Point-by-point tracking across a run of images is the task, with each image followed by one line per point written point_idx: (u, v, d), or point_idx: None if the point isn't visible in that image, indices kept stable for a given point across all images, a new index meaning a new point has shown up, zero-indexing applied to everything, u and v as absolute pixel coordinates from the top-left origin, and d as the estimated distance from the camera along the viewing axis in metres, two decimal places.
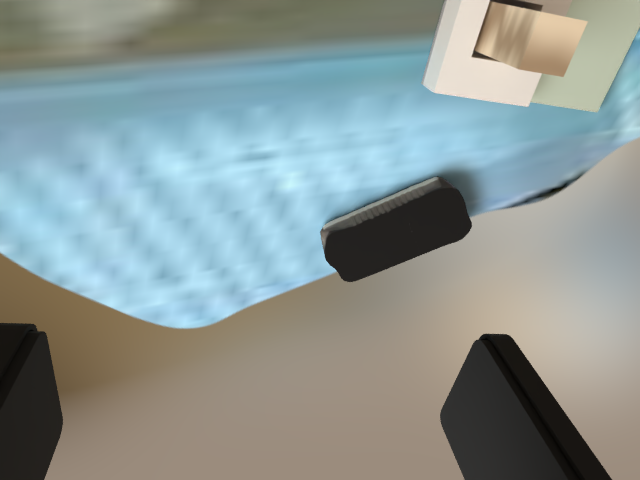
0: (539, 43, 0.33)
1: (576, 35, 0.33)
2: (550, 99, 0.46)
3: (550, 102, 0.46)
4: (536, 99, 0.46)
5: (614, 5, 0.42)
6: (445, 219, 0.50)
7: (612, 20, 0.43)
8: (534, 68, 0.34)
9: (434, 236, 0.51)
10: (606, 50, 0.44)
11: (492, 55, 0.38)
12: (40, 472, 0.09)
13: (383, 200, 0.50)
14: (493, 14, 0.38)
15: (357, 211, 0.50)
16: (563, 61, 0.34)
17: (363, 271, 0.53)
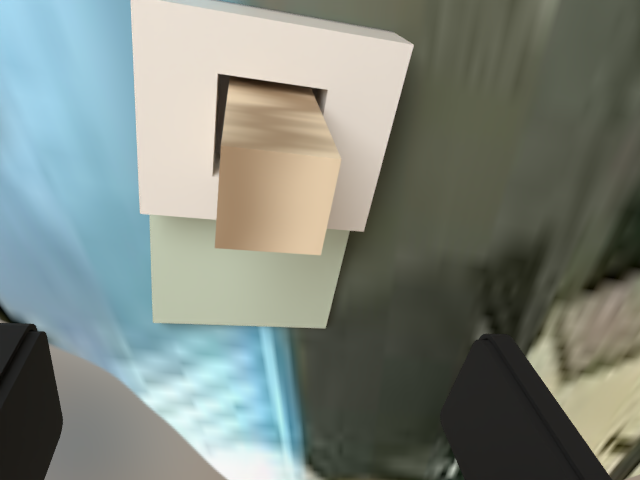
0: (279, 175, 0.15)
1: (295, 243, 0.17)
2: (160, 249, 0.27)
3: (155, 251, 0.27)
4: (156, 227, 0.26)
5: (302, 287, 0.30)
6: None
7: (283, 291, 0.30)
8: (227, 182, 0.15)
9: None
10: (243, 300, 0.30)
11: (231, 104, 0.18)
12: (40, 472, 0.09)
13: None
14: (298, 99, 0.20)
15: None
16: (245, 237, 0.16)
17: None
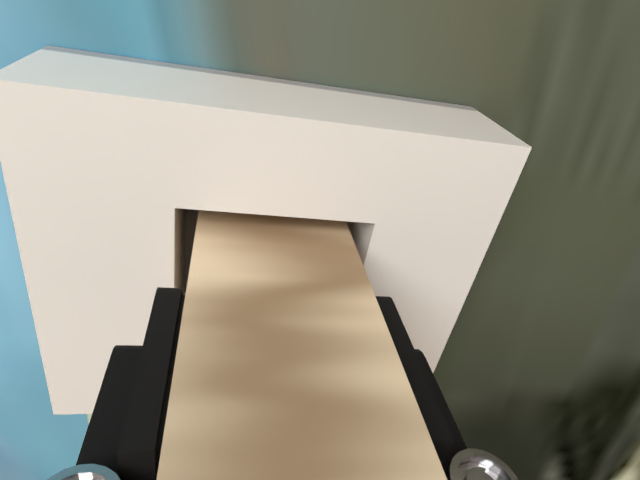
0: None
1: None
2: None
3: None
4: None
5: None
6: None
7: None
8: None
9: None
10: None
11: (195, 295, 0.09)
12: None
13: None
14: (323, 245, 0.11)
15: None
16: None
17: None
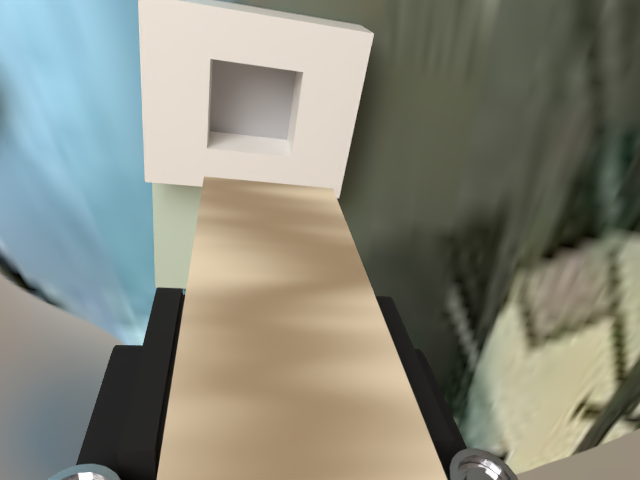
0: None
1: None
2: (161, 218, 0.31)
3: (157, 220, 0.31)
4: (158, 198, 0.30)
5: None
6: None
7: None
8: None
9: None
10: None
11: (195, 294, 0.09)
12: None
13: None
14: (323, 245, 0.11)
15: None
16: None
17: None
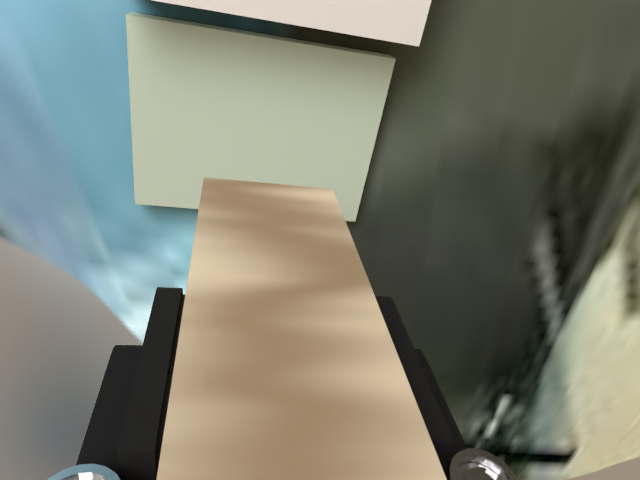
0: None
1: None
2: (142, 87, 0.20)
3: (135, 89, 0.20)
4: (135, 50, 0.19)
5: (328, 157, 0.24)
6: None
7: (304, 163, 0.24)
8: None
9: None
10: (252, 174, 0.23)
11: (195, 296, 0.09)
12: None
13: None
14: (322, 245, 0.11)
15: None
16: None
17: None
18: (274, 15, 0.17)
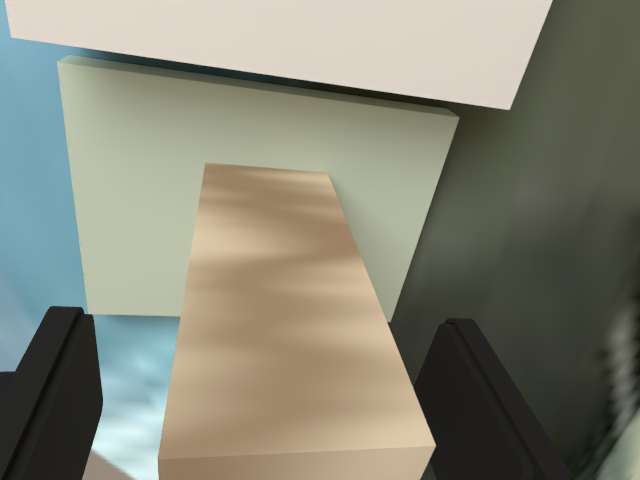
0: None
1: None
2: (89, 164, 0.14)
3: (79, 167, 0.14)
4: (76, 112, 0.13)
5: (357, 246, 0.17)
6: None
7: None
8: None
9: None
10: None
11: (198, 264, 0.10)
12: (86, 447, 0.09)
13: None
14: (317, 222, 0.12)
15: None
16: None
17: None
18: (289, 69, 0.11)
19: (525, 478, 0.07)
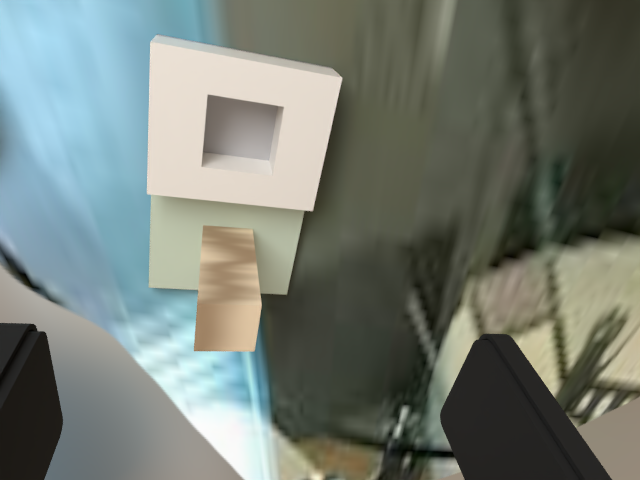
0: (228, 314, 0.29)
1: (239, 346, 0.30)
2: (157, 226, 0.35)
3: (153, 227, 0.35)
4: (155, 208, 0.35)
5: (267, 259, 0.39)
6: None
7: None
8: (200, 319, 0.28)
9: None
10: None
11: (202, 263, 0.32)
12: (40, 472, 0.09)
13: None
14: (243, 250, 0.34)
15: None
16: (211, 344, 0.30)
17: None
18: (233, 200, 0.33)
19: None
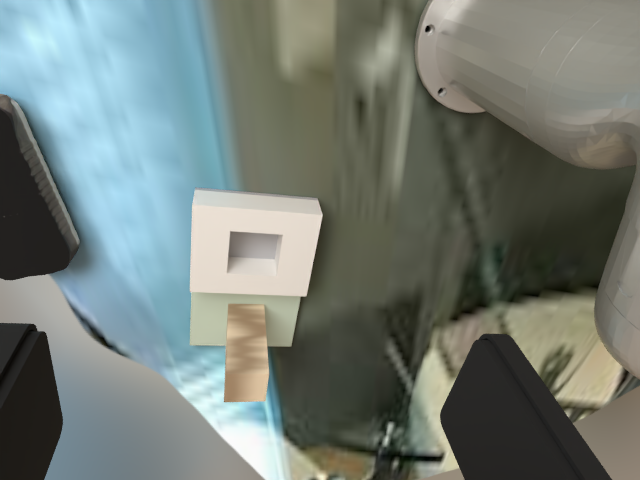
0: (247, 379, 0.42)
1: (254, 398, 0.44)
2: (196, 305, 0.49)
3: (193, 306, 0.49)
4: (194, 294, 0.49)
5: (276, 323, 0.53)
6: (20, 254, 0.41)
7: None
8: (228, 383, 0.42)
9: None
10: None
11: (229, 339, 0.45)
12: (40, 472, 0.09)
13: (53, 184, 0.40)
14: (257, 325, 0.48)
15: (38, 150, 0.38)
16: (235, 397, 0.44)
17: None
18: (249, 292, 0.46)
19: None
